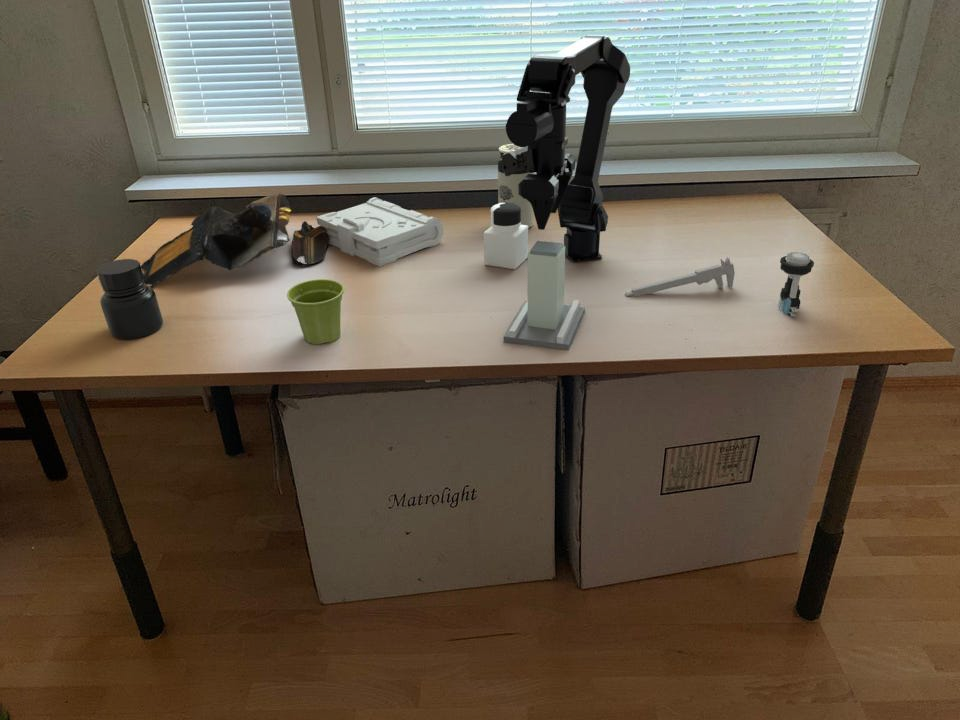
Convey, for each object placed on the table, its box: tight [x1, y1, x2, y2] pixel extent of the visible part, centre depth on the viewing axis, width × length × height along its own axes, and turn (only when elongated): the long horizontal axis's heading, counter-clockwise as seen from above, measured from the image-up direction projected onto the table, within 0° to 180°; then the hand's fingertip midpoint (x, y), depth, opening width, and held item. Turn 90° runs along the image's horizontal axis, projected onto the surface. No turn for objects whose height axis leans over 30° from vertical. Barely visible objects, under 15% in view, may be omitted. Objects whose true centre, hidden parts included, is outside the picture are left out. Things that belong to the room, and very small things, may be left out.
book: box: [315, 196, 444, 267], centre depth 160 cm, size 19×28×8 cm
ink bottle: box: [96, 258, 164, 340], centre depth 124 cm, size 10×9×12 cm
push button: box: [777, 251, 815, 317], centre depth 123 cm, size 7×5×10 cm
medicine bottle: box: [482, 202, 529, 270], centre depth 145 cm, size 7×7×12 cm
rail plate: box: [503, 299, 586, 351], centre depth 122 cm, size 14×11×2 cm
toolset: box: [140, 193, 330, 289], centre depth 153 cm, size 40×20×27 cm
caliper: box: [624, 257, 735, 297], centre depth 132 cm, size 20×1×6 cm, turn 97°
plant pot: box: [286, 278, 345, 345], centre depth 120 cm, size 9×9×9 cm
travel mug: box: [497, 143, 534, 229], centre depth 162 cm, size 8×8×18 cm
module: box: [527, 240, 566, 330], centre depth 119 cm, size 5×5×14 cm
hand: (547, 220), depth 131 cm, fingers open, 9 cm apart
